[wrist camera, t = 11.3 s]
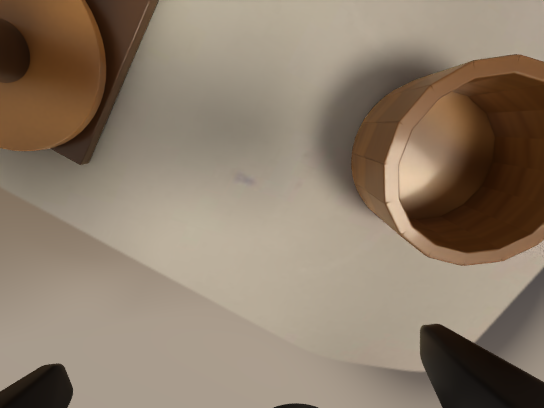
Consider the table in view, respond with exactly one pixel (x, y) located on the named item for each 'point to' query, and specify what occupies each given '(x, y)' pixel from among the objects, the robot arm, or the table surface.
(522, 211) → the wooden bowl
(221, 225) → the table surface
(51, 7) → the lid
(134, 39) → the board
